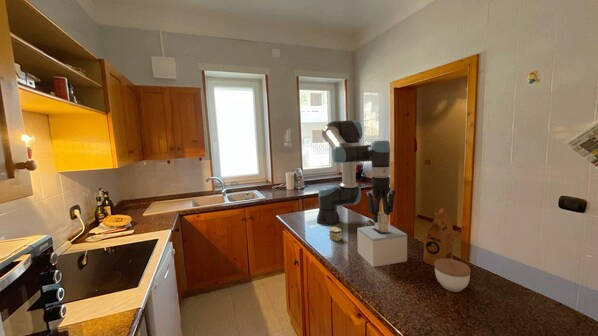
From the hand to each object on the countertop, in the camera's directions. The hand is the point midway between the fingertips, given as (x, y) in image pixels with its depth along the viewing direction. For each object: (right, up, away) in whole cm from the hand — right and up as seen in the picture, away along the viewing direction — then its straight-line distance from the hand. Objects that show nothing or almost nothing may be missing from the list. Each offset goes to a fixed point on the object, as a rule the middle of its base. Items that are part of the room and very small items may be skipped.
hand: (381, 228), depth 108 cm
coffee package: (+22, -13, -5) cm, 26 cm away
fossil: (+4, -11, +26) cm, 28 cm away
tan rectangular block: (0, 0, 0) cm, 0 cm away
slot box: (+1, -13, +1) cm, 13 cm away
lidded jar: (+17, -15, -22) cm, 32 cm away
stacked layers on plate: (-17, -12, +24) cm, 32 cm away
